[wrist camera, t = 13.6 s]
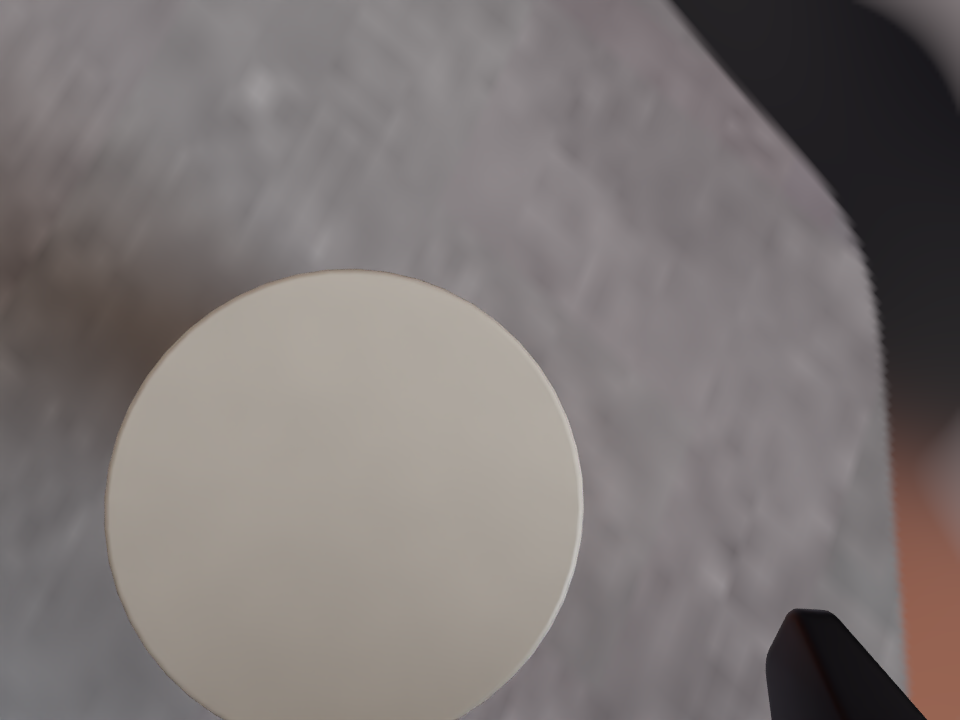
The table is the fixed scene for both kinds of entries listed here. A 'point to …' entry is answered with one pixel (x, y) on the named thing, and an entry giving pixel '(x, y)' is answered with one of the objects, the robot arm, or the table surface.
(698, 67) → the table surface
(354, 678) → the tube
